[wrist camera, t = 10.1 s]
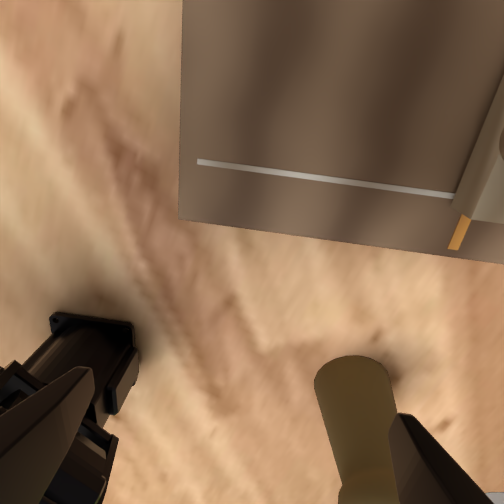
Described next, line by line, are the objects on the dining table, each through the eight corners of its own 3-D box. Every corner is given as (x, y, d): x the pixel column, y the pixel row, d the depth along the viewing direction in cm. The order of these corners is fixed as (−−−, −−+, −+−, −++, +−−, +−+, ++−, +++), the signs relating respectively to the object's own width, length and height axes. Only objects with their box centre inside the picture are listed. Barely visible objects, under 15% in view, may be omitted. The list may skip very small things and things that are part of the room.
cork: (353, 343, 24) (405, 508, 15) (406, 383, 26) (486, 560, 16) (298, 384, 27) (310, 552, 17) (349, 419, 28) (388, 594, 18)
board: (186, 208, 21) (177, 219, 19) (196, -82, 15) (184, -109, 13) (496, 251, 21) (518, 266, 19) (635, -27, 14) (688, -46, 13)
